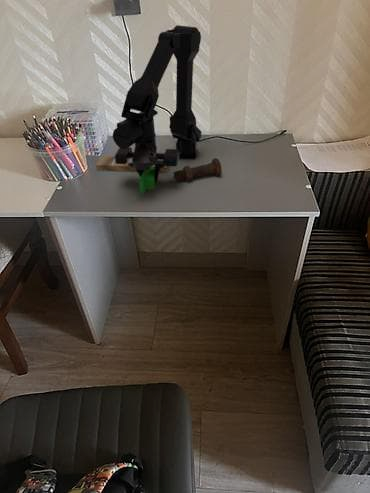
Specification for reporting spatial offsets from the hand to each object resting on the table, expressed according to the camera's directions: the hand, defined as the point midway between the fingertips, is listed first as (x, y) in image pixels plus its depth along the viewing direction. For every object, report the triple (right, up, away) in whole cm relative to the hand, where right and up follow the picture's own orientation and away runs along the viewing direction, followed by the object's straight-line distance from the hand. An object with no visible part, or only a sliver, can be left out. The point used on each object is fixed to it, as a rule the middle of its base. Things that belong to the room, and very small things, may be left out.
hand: (150, 180), depth 118 cm
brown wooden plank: (-6, +6, +9) cm, 13 cm away
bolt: (+15, +1, +3) cm, 15 cm away
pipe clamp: (0, -1, +1) cm, 2 cm away
